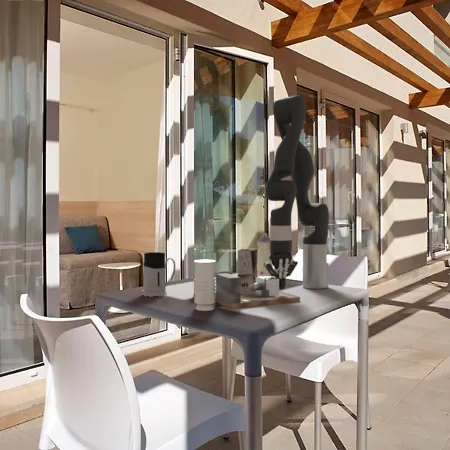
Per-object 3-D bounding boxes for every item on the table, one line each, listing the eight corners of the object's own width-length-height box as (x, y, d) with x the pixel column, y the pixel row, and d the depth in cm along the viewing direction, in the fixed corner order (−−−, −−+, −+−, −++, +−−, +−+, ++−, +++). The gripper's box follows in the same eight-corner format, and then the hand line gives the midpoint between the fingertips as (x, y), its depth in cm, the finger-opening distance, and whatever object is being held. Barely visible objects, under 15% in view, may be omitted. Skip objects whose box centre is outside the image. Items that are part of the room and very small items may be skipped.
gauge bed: (280, 295, 163) (280, 268, 162) (299, 301, 152) (300, 273, 152) (214, 301, 152) (214, 273, 151) (230, 309, 141) (230, 278, 140)
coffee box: (254, 295, 163) (254, 250, 163) (237, 294, 165) (237, 250, 164) (257, 290, 172) (257, 248, 172) (241, 289, 173) (241, 248, 173)
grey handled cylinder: (154, 291, 171) (154, 251, 170) (183, 295, 163) (183, 253, 162) (137, 295, 164) (137, 253, 163) (166, 299, 155) (166, 256, 155)
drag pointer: (264, 295, 150) (264, 277, 150) (269, 297, 147) (269, 278, 147) (261, 296, 150) (261, 277, 149) (266, 297, 147) (266, 278, 147)
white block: (268, 291, 158) (268, 275, 157) (278, 295, 151) (279, 278, 151) (246, 293, 154) (246, 277, 154) (256, 297, 148) (256, 280, 147)
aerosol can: (261, 275, 209) (261, 232, 208) (274, 277, 205) (275, 233, 204) (254, 277, 203) (254, 233, 202) (268, 279, 199) (268, 233, 199)
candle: (198, 312, 137) (198, 262, 136) (190, 307, 143) (190, 260, 143) (219, 309, 140) (219, 261, 139) (211, 305, 146) (210, 259, 145)
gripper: (290, 237, 161) (290, 285, 162) (258, 238, 155) (258, 288, 156) (303, 238, 154) (303, 289, 155) (270, 240, 148) (270, 292, 149)
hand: (280, 288), depth 155 cm, fingers closed
